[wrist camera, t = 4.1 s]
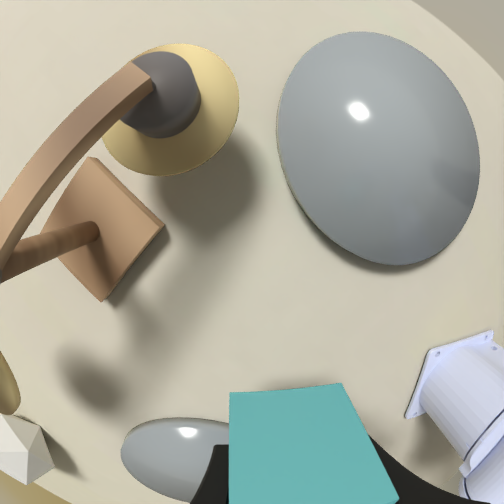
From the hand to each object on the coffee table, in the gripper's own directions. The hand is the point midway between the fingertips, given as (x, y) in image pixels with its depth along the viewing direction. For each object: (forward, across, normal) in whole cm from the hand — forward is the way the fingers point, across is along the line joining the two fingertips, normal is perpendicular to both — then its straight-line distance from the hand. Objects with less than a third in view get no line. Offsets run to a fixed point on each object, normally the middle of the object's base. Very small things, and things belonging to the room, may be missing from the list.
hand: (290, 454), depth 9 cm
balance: (+8, +10, -8) cm, 15 cm away
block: (+2, 0, 0) cm, 2 cm away
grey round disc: (+9, +6, +14) cm, 17 cm away
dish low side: (+9, -8, -13) cm, 18 cm away
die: (+9, +27, +14) cm, 32 cm away
